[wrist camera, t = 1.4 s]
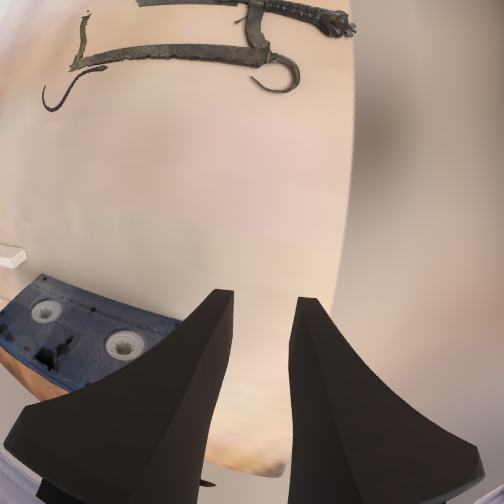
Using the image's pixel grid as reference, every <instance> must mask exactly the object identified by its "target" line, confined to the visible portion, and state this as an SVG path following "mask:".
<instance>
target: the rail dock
mask: <svg viewBox="0 0 504 504" xmlns="http://www.w3.org/2000/svg"><path fill="white" fill-rule="evenodd" d="M26 259H27V255H26V252H25V249H23V248H17V247H12V246H6V245H1V244H0V265H1V266H5V267H8V268H12V269H14V268H15V267H17V266H18V265H19V264H21V263H22V262H23V261H25V260H26ZM9 302H10V301H8V300H6V299H3V298H1V297H0V311H1V310H2V309H3V308H4V307H6V306H7V304H8V303H9Z"/></svg>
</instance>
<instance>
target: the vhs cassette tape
mask: <svg viewBox="0 0 504 504" xmlns="http://www.w3.org/2000/svg"><path fill="white" fill-rule="evenodd" d="M182 322H183V321H180V320H176V319H174V318H168V317H166V316H162V315H159V314H156V313H152V312H149V311H145V310H142V309H139V308H136V307H133V306H130V305H126V304H123V303H120V302H117V301H114V300H111V299H108V298H105V297H102V296H100V295H97V294H94V293H91V292H89V291H86V290H83V289H80V288H78V287H75V286H73V285H70V284H67V283H65V282H62V281H60V280H57V279H55V278H52V277H50V276H47V275H45V274H41V275H40V276H39V277H37V278H36V279H35V280H34V281H33V282H32V284H29V285H28V286H27V287H26V288H25V289H23V290H22V291H21V292H20V293H19V294H18V295H17V296H16V297H15V298H14V299H13V300H11V301H10V302H9V303H8V304H7V306H6V307H4V308H3V309H2V310H1V311H0V346H1V347H2V348H3V349H4V350H5V351H6V352H7V353H9V354H10V355H11V356H13V357H14V358H15V359H17V360H19V361H20V362H21V363H22V364H24V365H25V366H27V367H28V368H30V369H32V370H33V371H35V372H36V373H38V374H39V375H41V376H42V377H44V378H45V379H47V380H48V381H50V382H51V383H53V384H55V385H57V386H59V387H60V388H62V389H64V390H66V391H68V392H70V393H71V392H73V391H75V390H78V389H80V388H83V387H85V386H87V385H90V384H92V383H94V382H96V381H98V380H100V379H102V378H104V377H106V376H108V375H110V374H111V373H113V372H115V371H117V370H118V369H120V368H122V367H124V366H125V365H127V364H129V363H130V362H132V361H133V360H135V359H136V358H138V357H139V356H141V355H142V354H144V353H145V352H146V351H148V350H149V349H151V348H152V347H153V346H154V345H156V344H157V343H158V342H160V341H161V340H162V339H163V338H164V337H166V336H167V335H168V334H169V333H170V332H171V331H173V330H174V329H175V328H176V327H177V326H178V325H179V324H181V323H182Z"/></svg>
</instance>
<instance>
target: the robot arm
mask: <svg viewBox="0 0 504 504" xmlns="http://www.w3.org/2000/svg"><path fill="white" fill-rule="evenodd" d="M233 308H234V291H231V290H222V289H215V290H213V291H212V292H211V293H210V294H209V295H208V296H207V298H206V299H205V300H204V301H203V302H202V303H201V304H200V305H199V306H198V307H197V308H196V309H195V310H194V311H193V312H192V313H191V314H190V315H189V316H188V317H187V318H186V319H185V320H184V321H183V322H182V323H181V324H179V325H178V326H177V327H176V328H175V329H174V330H173V331H171V332H170V333H169V334H168V335H167V336H166V337H164V338H163V339H162V340H161V341H160V342H158V343H157V344H156V345H154V346H153V347H152V348H151V349H149V350H148V351H146V352H145V353H144V354H142V355H141V356H139V357H138V358H136V359H135V360H133V361H132V362H130V363H129V364H127V365H125V366H124V367H122V368H120V369H118V370H117V371H115V372H113V373H111V374H110V375H108V376H106V377H104V378H102V379H100V380H98V381H96V382H94V383H92V384H90V385H87V386H85V387H83V388H80V389H78V390H75V391H73V392H71V393H68V394H65V395H62V396H60V397H56V398H53V399H50V400H46V401H43V402H40V403H36V404H32V405H28V406H25V408H24V409H23V410H22V412H21V414H20V415H19V417H18V419H17V420H16V422H15V424H14V425H13V427H12V429H11V430H10V432H9V434H8V436H7V437H6V439H5V441H4V443H3V445H4V448H5V449H6V450H7V451H9V453H11V454H12V455H13V456H14V457H15V458H17V459H18V460H19V461H20V462H22V463H23V464H24V465H26V466H27V467H28V468H30V469H31V470H32V471H34V472H35V473H36V474H38V475H39V476H41V477H42V478H43V479H42V481H41V482H40V481H39V480H37V479H36V478H34V477H33V476H32V475H30V474H29V473H28V472H26V471H25V470H24V469H22V468H21V467H20V466H18V465H17V464H16V463H15V462H14V461H12V460H11V459H10V458H9V456H8V455H7V454H6V453H5V452H4V451H2V450H1V449H0V504H197V498H198V492H199V485H200V479H201V472H202V466H203V461H204V455H205V449H206V444H207V438H208V433H209V427H210V423H211V419H212V415H213V412H214V409H215V406H216V402H217V399H218V396H219V392H220V389H221V386H222V382H223V379H224V376H225V372H226V369H227V365H228V361H229V356H230V350H231V344H232V338H233ZM288 371H289V383H290V395H291V408H292V420H293V446H292V463H291V476H290V486H289V496H288V504H446V501H448V500H450V499H452V498H453V497H456V496H458V495H459V494H461V493H463V492H465V491H466V490H468V489H470V488H472V487H473V486H475V485H476V484H478V483H479V482H481V481H482V480H483V479H484V477H485V472H484V469H483V465H482V461H481V458H480V455H479V452H478V449H477V446H475V445H473V444H471V443H468V442H467V441H464V440H463V439H461V438H459V437H457V436H455V435H453V434H451V433H449V432H447V431H446V430H444V429H443V428H441V427H440V426H438V425H437V424H435V423H433V422H432V421H430V420H429V419H427V418H426V417H424V416H423V415H422V414H420V413H419V412H418V411H416V410H415V409H414V408H412V407H411V406H410V405H409V404H407V403H406V402H405V401H404V400H403V399H401V398H400V397H399V396H398V395H397V394H395V393H394V392H393V391H392V390H391V389H390V388H389V387H388V386H387V385H386V384H385V383H384V382H383V381H382V380H380V378H379V377H378V376H376V374H375V373H374V372H373V371H372V370H371V369H370V368H369V367H368V366H367V365H366V364H365V363H364V361H363V360H362V359H361V358H360V357H359V356H358V354H357V353H356V352H355V351H354V349H353V348H352V347H351V346H350V344H349V343H348V342H347V340H346V339H345V338H344V336H343V335H342V334H341V333H340V331H339V330H338V328H337V327H336V326H335V324H334V323H333V321H332V320H331V318H330V317H329V315H328V314H327V312H326V311H325V309H324V308H323V307H322V305H321V304H320V302H319V301H318V299H317V298H306V297H298V301H297V306H296V311H295V316H294V321H293V326H292V331H291V336H290V341H289V361H288ZM474 504H504V484H503V485H502V486H500V487H499V488H497V489H495V490H494V491H492V492H491V493H489V494H487V495H485V496H484V497H482V498H481V499H479V500H477V501H475V502H474Z"/></svg>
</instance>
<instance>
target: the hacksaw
mask: <svg viewBox="0 0 504 504" xmlns="http://www.w3.org/2000/svg"><path fill="white" fill-rule="evenodd" d="M136 2H137V3H138V5H139V7H143V6H153V5H168V4H215V5H231V6H237V5H238V3H245V4H248V8H249V15H247V16H246V17H244V18H243V19H245V18H247V22H246V33H247V37H248V41H249V43H250V45H251V46H252V48H249V47H237V46H227V45H209V44H162V45H147V46H136V47H129V48H122V49H117V50H112V51H108V52H104V53H102V54H95V55H93V56H90V57H85V58H84V59H82V58H83V52H84V51H85V46H86V41H87V38H86V33H85V25H87V20H88V19H89V17H90V16H91V14H89V15H88V16H84V17H81V18H83V20H82V22H81V24H80V39H81V43H80V48H79V51H78V55H75V59H74V62H73V64H74V65H73V64H72V65H70V67H71V68H72V69H71V71H72V70H73V71H75V70H76V69H77V68H78V70H79V69H81V68H84V67H85V66H88V67H89V66H94V65H100V64H106V63H112V62H118V61H123V60H124V59H128V60H133V59H139V60H140V59H147V58H151V59H166V60H169V59H171V58H178V59H188V60H202V61H215V62H222V63H229V64H236V65H244V66H250V67H257V68H259V67H260V66H262V65H264V64H265V63H270V62H274V63H277V61H278V62H281V63H284V64H286V65H288V66H290V67H291V69H292V70H293V71H294V75H295V82H294V84H293V85H292V86H291V87H290V88H288V89H286V90H282V91H281V90H271V89H268V88H266V87H264V86H263V85H262V84H260V83H259V82H258V81H257V80H256V79H254V78H253V77H252V76H251V78H252V79H253V80H254V81H255V82H256V83H257V84H258V85H260V86H261V87H262V88H263V89H265V90H267V91H270V92H275V93H286V92H289V91H291V90H293V89H295V88H296V87H297V86H298V85H299V82H300V71H299V68H298V66H297V65H296V63H294V62H293V61H292V60H291V59H289V58H287V57H285V56H282V55H278V53H275V54H274V53H272V52H271V50H270V42H268V41H267V40H265V38H264V35H263V33H261V20H262V16H263V13H264V11H265V12H273V13H279V14H281V15H285V16H288V17H293V18H297V19H299V20H302V21H306V22H310V23H312V24H314V25H316V26H318V27H319V28H320V29H321V30H322V31H323V32H324V33H326V34H327V35H328V36H331V37H333V36H336V37H338V38H340V37H342V36H343V34H344V32H347V36H348V37H353V33H352V32H354V33H356V31H355V30H353V29H351V28H356V25H355V24H354V23H350V24H348V22H349V21H348V14H346V13H345V12H343V11H341V10H338V11H330V10H327V9H322V8H318V7H312V6H308V5H305V4H300V3H294V2H290V1H284V0H137V1H136ZM87 12H89V10H88V11H87ZM243 19H241V20H238V21H235V22H236V24H237V23H238V22H240V21H242V20H243ZM350 31H352V32H350ZM81 59H82V60H81ZM107 68H108V67H107V66H104V65H101V66H100V67H95V68H91V69H89V70H86V71H83V72H82V73H81V74H79V75H78V76H77V77H76V78H75V79H74V81H73V82H72V83H71V85H70V87H69V88H68V90H67V92H66V94H65V95H64V97H63V99H62V100H61V102H60V103H59V104H58V106H56V107H54V108H49V107H47V106H46V105H45V102H44V98H43V96H44V90H45V86H46V85H45V86H44V90H43V93H42V101H43V104H44V107H45V108H46V109H47V110H48V111H50V112H53V111H56V110H58V109H59V108H60V107H61V106H62V104H63V103H64V101H65V99H66V97H67V96H68V93H69V92H70V90H71V88H72V87H73V85H74V83H75V82H76V80H78V78H79V77H80V76H82V75H84V74H86V73H89V72H93V71H94V72H95V71H104V70H105V69H107ZM71 71H69V72H71ZM73 71H72V72H73Z"/></svg>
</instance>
